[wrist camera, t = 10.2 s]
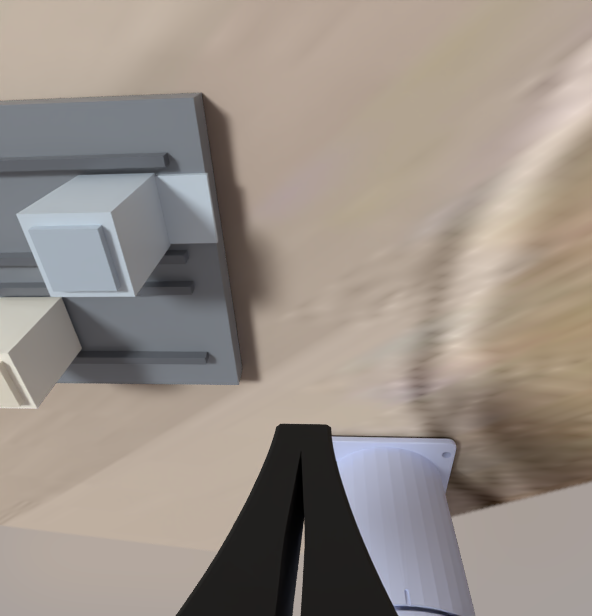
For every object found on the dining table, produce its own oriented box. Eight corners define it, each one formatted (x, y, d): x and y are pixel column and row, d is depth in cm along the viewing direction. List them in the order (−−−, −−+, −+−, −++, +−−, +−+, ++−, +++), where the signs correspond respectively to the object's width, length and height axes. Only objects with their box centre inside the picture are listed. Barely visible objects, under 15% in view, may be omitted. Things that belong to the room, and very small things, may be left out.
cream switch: (81, 348, 22) (33, 414, 18) (24, 347, 22) (-36, 412, 18) (61, 297, 20) (3, 358, 16) (-1, 297, 20) (-72, 357, 17)
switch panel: (244, 369, 23) (239, 391, 22) (13, 367, 24) (-6, 389, 23) (204, 92, 16) (192, 99, 15) (-126, 105, 17) (-166, 113, 16)
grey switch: (170, 245, 18) (132, 301, 14) (100, 246, 18) (46, 301, 15) (154, 172, 16) (106, 215, 13) (78, 175, 17) (10, 218, 13)
